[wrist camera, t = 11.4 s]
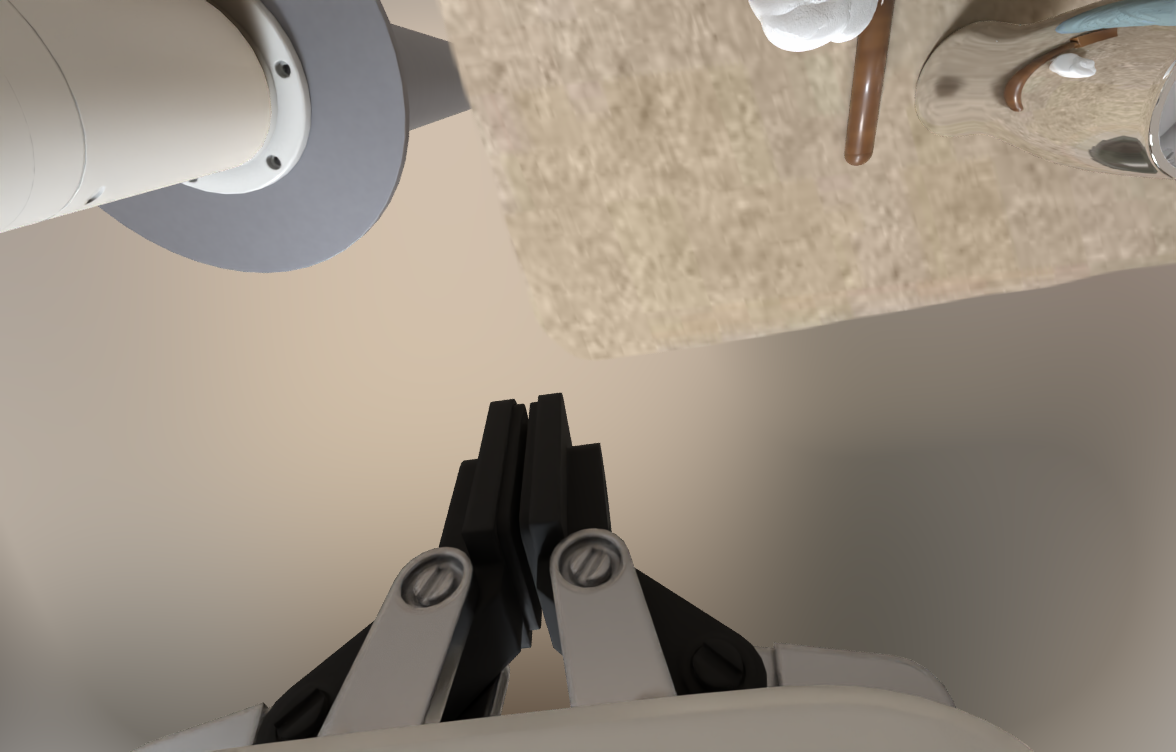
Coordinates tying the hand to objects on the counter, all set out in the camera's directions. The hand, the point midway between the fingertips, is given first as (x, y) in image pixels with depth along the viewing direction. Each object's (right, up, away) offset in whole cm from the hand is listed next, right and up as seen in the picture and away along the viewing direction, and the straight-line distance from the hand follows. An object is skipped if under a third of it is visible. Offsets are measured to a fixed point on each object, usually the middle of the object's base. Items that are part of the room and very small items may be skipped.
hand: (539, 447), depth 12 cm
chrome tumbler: (+24, +20, +19) cm, 36 cm away
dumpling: (+13, +23, +17) cm, 31 cm away
